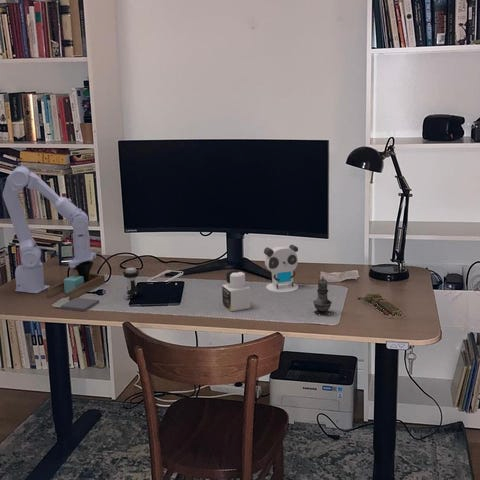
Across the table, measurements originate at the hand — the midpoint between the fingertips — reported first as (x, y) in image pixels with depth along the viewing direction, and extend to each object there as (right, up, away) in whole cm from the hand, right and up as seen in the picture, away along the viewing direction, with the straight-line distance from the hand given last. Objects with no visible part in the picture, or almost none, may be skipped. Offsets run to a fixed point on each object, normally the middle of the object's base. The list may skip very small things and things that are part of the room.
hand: (84, 281), depth 242 cm
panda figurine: (+71, -2, -6) cm, 72 cm away
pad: (+3, -7, -21) cm, 22 cm away
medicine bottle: (+56, -7, -25) cm, 61 cm away
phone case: (+29, 0, +8) cm, 30 cm away
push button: (+19, -5, -13) cm, 24 cm away
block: (-2, -3, -5) cm, 7 cm away
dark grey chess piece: (+83, -8, -32) cm, 89 cm away
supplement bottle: (-7, +4, +24) cm, 25 cm away
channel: (-2, -3, -4) cm, 5 cm away
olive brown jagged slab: (+102, -7, -27) cm, 106 cm away
